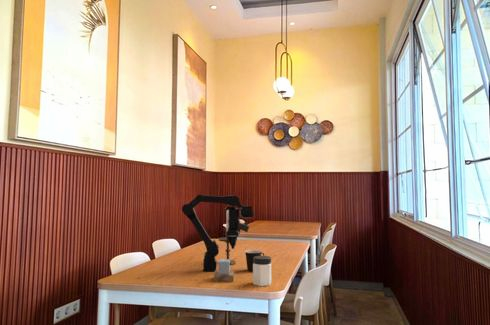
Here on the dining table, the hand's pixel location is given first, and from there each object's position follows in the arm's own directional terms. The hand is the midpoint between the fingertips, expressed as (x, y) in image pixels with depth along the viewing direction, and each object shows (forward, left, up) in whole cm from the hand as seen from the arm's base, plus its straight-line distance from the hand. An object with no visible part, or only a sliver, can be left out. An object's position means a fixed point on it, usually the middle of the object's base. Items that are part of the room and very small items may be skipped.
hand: (233, 247), depth 192 cm
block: (-4, -20, -9) cm, 22 cm away
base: (-4, -20, -12) cm, 24 cm away
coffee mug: (+12, -1, -12) cm, 17 cm away
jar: (+14, -28, -12) cm, 34 cm away
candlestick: (-4, +17, -12) cm, 21 cm away
